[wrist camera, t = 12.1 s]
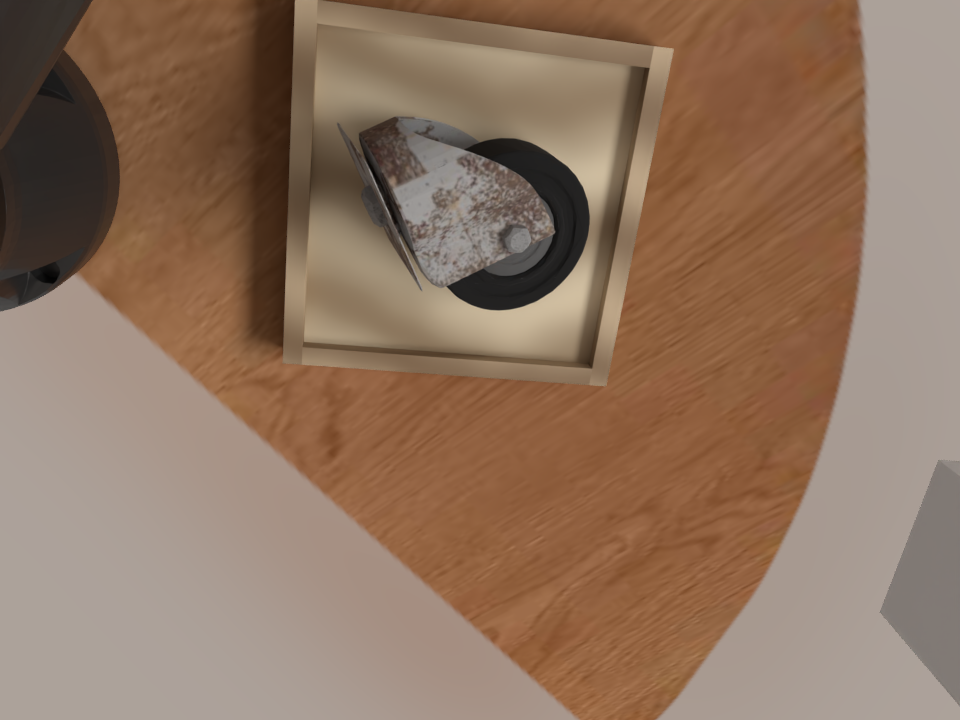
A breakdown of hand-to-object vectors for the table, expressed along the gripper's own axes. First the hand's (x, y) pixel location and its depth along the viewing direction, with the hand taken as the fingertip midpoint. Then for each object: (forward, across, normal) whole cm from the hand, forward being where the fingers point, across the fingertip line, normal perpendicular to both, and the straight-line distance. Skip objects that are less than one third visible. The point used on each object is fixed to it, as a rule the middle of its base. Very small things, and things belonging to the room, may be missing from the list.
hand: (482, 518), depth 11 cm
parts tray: (+33, +3, -2) cm, 33 cm away
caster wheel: (+32, +3, -1) cm, 32 cm away
